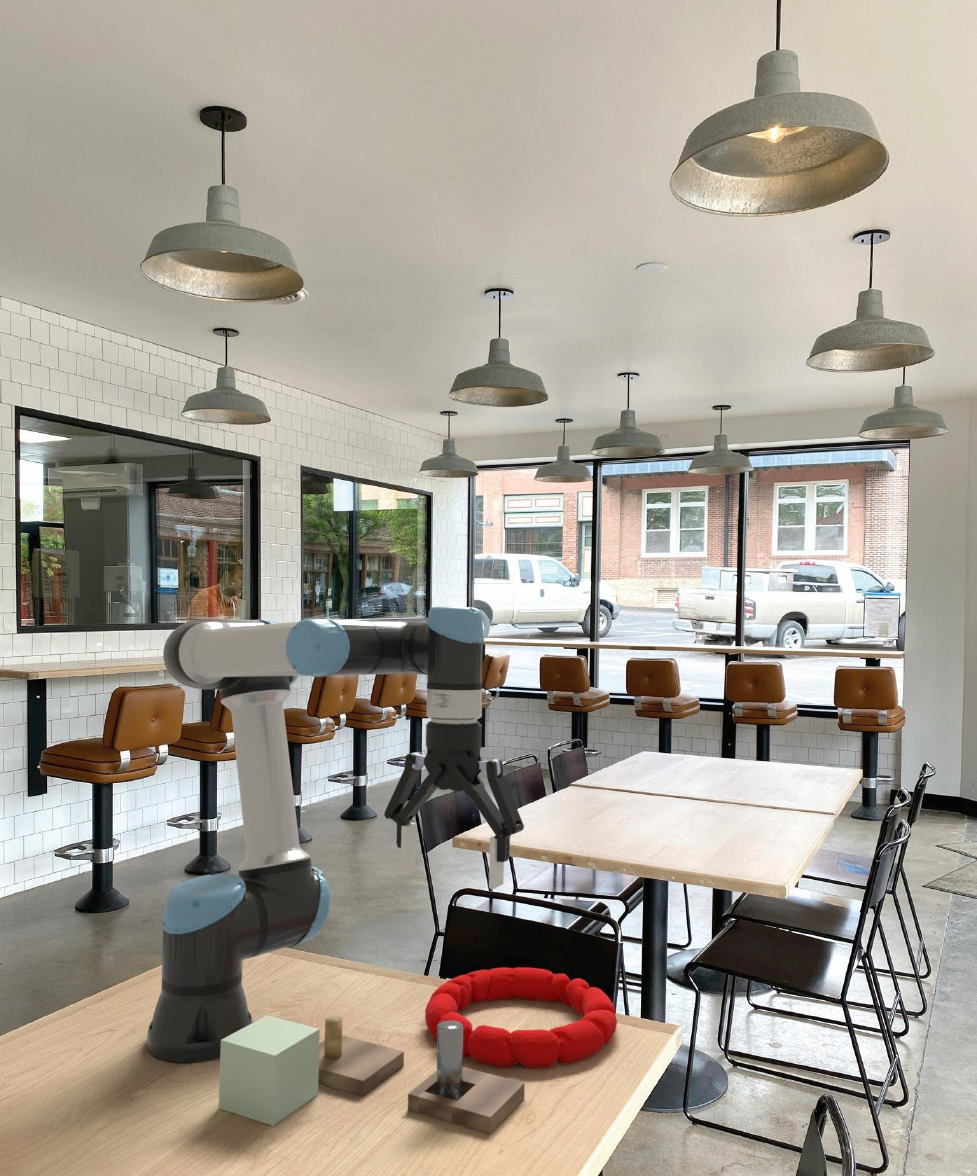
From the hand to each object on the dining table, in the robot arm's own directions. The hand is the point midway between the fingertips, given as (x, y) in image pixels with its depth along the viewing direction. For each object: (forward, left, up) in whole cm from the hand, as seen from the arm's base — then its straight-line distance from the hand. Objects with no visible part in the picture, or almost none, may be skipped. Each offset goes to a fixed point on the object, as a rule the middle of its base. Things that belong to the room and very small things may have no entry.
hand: (451, 879), depth 124 cm
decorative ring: (-1, +25, -29) cm, 39 cm away
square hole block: (+3, 0, -29) cm, 29 cm away
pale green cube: (-20, -12, -29) cm, 37 cm away
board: (-16, 0, -29) cm, 33 cm away
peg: (+1, -1, -29) cm, 29 cm away
